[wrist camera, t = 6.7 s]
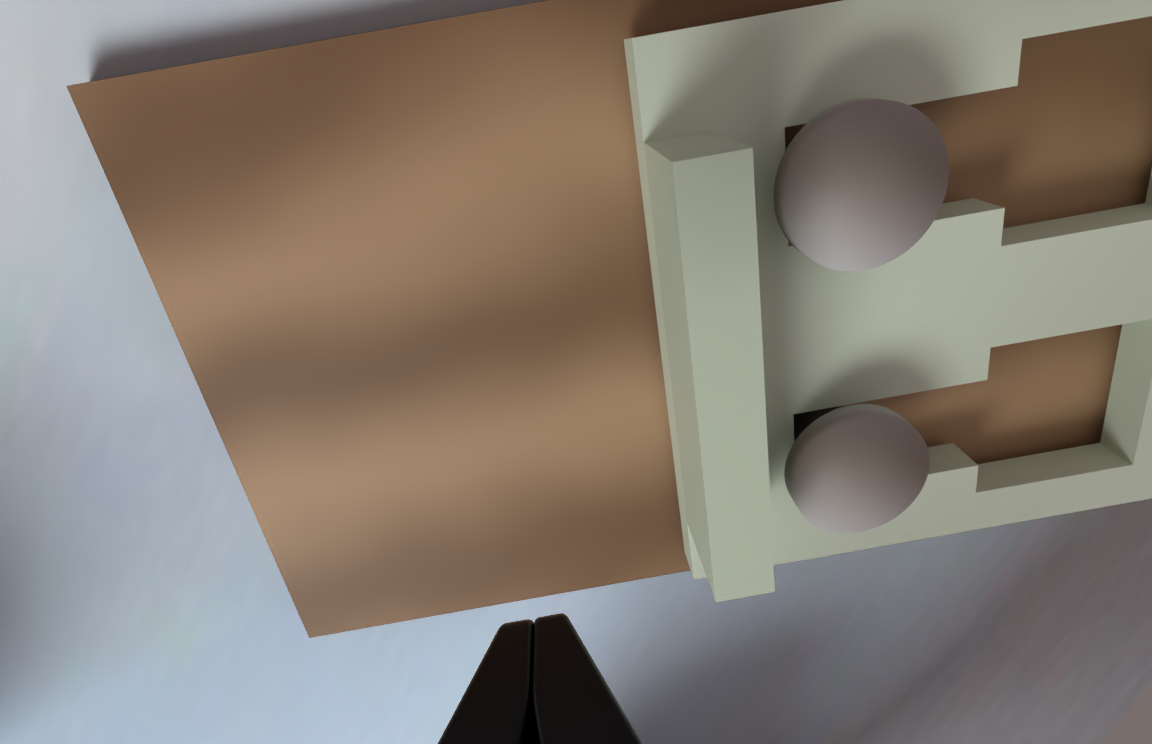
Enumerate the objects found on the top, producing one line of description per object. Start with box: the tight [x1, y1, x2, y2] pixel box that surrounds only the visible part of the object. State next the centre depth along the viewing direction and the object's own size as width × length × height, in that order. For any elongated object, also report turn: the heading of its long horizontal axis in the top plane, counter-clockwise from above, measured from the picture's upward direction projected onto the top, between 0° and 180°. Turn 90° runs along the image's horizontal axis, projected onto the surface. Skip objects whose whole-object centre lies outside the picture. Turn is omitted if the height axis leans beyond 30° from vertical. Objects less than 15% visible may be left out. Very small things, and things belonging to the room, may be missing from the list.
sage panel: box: [624, 0, 1152, 602], centre depth 16 cm, size 14×15×4 cm
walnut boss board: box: [67, 0, 1152, 638], centre depth 17 cm, size 16×26×4 cm, turn 99°
